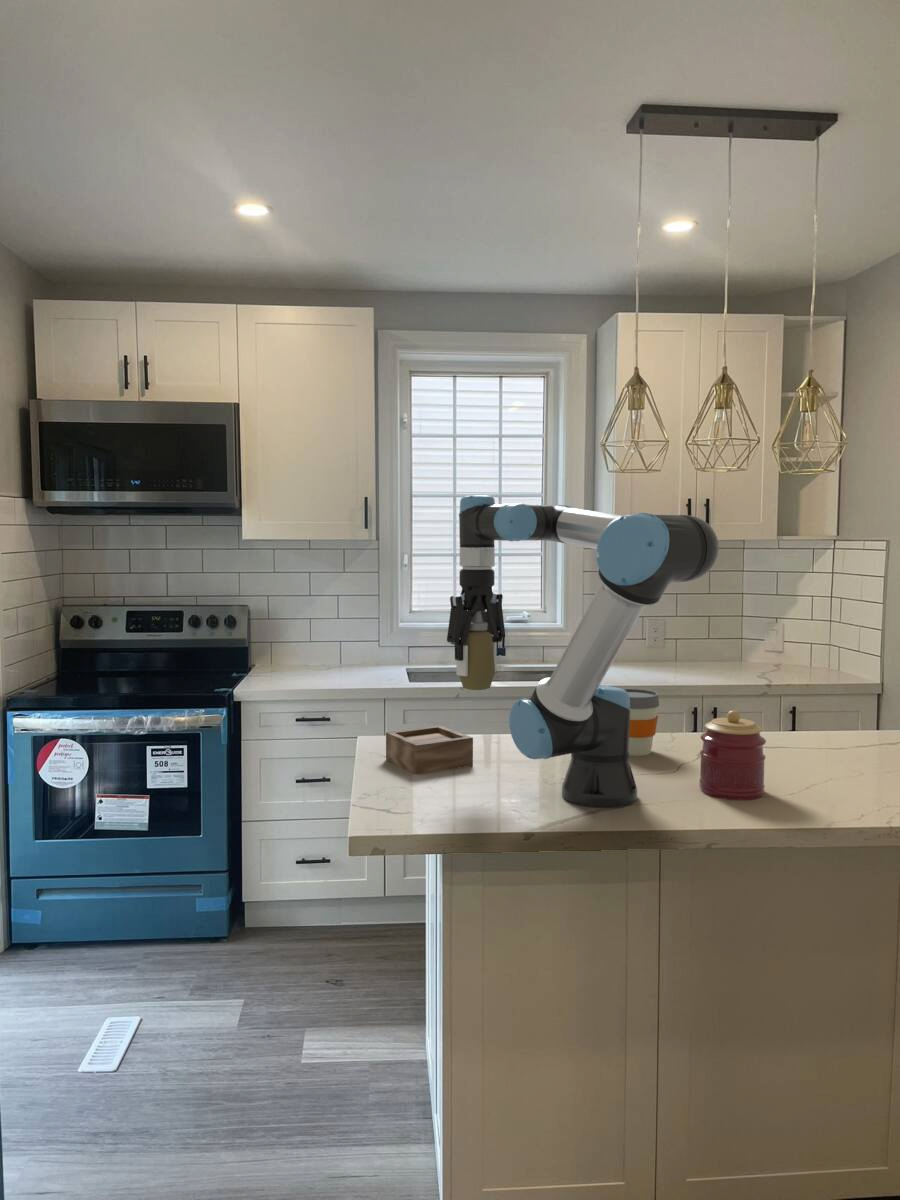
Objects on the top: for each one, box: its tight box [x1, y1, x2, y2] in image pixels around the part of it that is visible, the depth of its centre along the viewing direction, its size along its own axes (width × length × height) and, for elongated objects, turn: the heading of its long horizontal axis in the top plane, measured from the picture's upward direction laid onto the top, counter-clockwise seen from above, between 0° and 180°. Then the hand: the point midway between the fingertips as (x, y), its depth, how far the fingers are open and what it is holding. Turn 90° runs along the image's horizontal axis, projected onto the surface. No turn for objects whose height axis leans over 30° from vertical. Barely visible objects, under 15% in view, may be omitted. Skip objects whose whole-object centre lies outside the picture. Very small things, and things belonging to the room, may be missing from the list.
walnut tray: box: [385, 725, 474, 775], centre depth 205 cm, size 15×15×7 cm
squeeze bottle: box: [458, 611, 496, 691], centre depth 188 cm, size 8×8×18 cm
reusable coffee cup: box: [623, 688, 660, 757], centre depth 216 cm, size 13×13×15 cm
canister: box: [698, 709, 767, 801], centre depth 181 cm, size 13×13×18 cm
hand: (476, 673), depth 189 cm, fingers closed on squeeze bottle, 8 cm apart
